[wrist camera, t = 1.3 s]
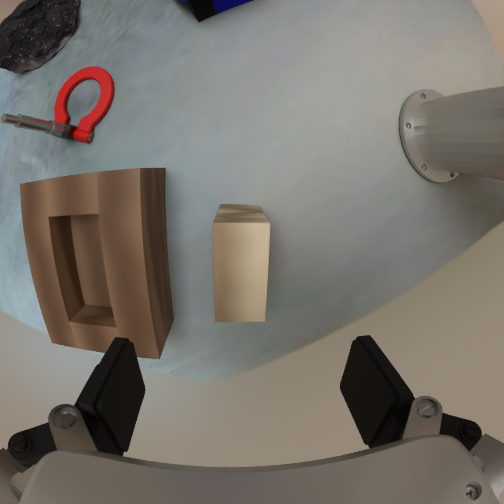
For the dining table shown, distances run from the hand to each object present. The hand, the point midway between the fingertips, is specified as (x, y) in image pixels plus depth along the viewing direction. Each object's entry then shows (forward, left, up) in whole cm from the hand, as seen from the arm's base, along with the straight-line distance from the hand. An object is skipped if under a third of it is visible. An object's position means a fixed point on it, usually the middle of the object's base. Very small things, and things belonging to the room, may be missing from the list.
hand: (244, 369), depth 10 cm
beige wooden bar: (0, 0, -20) cm, 20 cm away
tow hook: (+19, -17, -21) cm, 33 cm away
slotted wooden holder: (+15, +1, -20) cm, 25 cm away
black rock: (+29, -31, -21) cm, 47 cm away
